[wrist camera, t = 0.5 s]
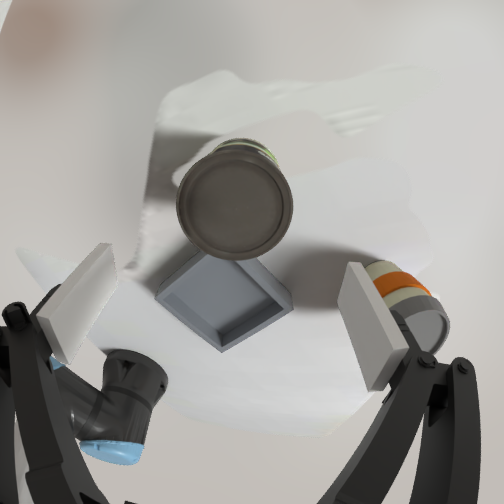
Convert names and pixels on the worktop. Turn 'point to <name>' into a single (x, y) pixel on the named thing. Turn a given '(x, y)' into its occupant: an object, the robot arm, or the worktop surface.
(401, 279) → the reusable coffee cup
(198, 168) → the coffee can
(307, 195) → the worktop surface
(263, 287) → the housing tray
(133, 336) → the worktop surface
